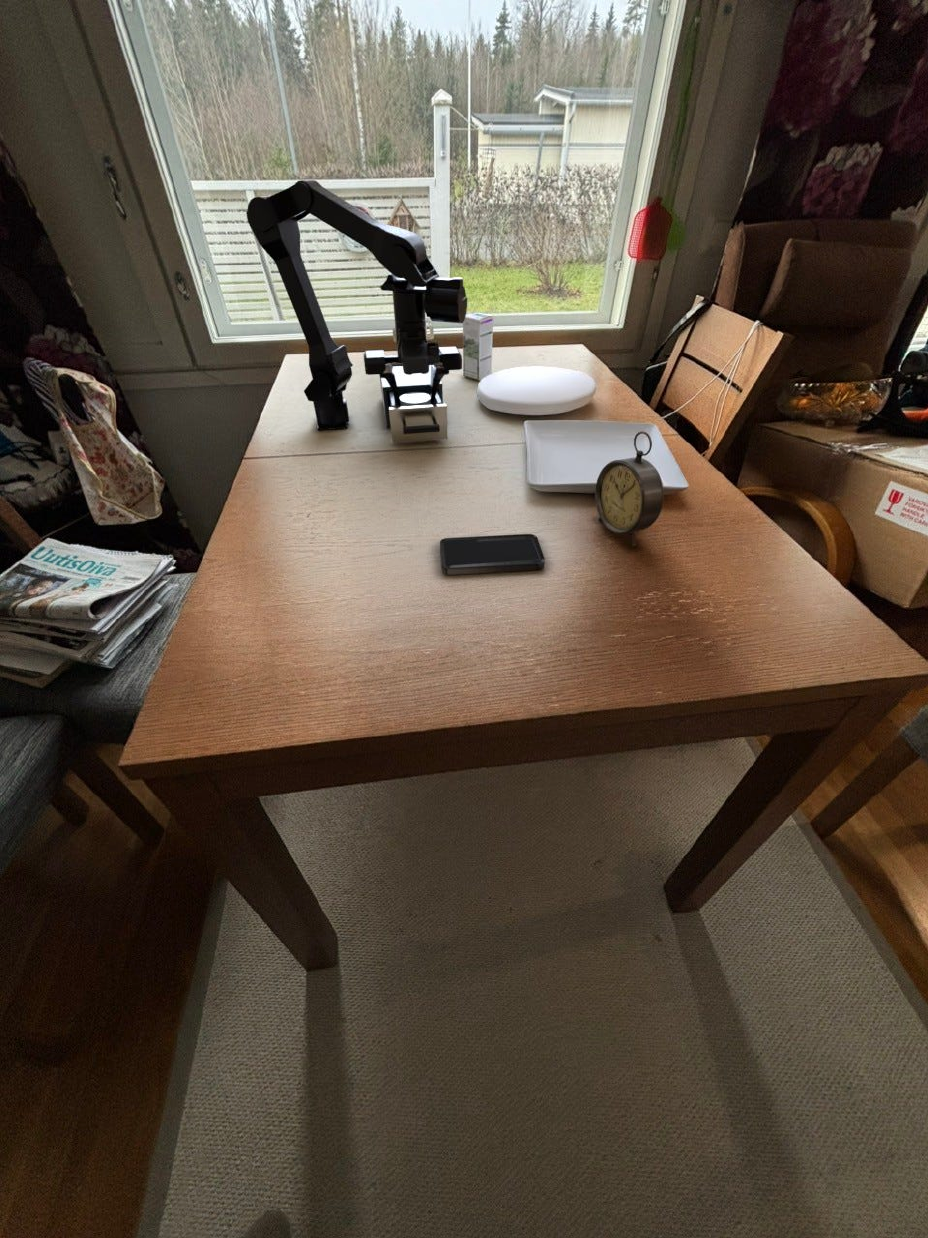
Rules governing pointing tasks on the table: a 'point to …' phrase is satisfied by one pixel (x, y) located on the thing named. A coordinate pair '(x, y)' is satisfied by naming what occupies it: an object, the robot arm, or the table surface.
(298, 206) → the robot arm
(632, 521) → the alarm clock
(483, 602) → the table surface
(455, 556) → the phone
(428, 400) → the pale blue short cylinder
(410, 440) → the drawer
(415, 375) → the cabinet
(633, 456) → the square plate
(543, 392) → the white rounded disc
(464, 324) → the syrup box
